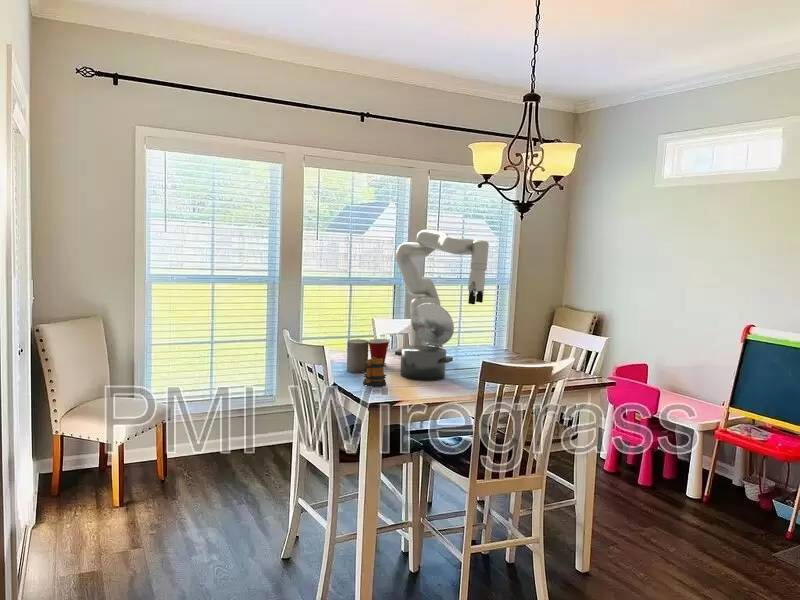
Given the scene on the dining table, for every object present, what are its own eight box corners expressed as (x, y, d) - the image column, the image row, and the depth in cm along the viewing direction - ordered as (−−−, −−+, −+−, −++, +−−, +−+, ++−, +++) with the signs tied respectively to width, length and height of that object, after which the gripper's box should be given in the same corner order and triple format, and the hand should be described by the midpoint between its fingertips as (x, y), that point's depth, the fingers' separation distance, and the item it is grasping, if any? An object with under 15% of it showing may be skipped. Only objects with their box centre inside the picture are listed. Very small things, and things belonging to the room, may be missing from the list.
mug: (369, 380, 268) (370, 353, 267) (390, 383, 264) (392, 356, 263) (354, 386, 256) (356, 358, 255) (377, 390, 252) (378, 362, 251)
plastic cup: (369, 361, 307) (370, 337, 306) (390, 363, 305) (392, 338, 304) (363, 365, 297) (364, 340, 295) (386, 367, 295) (387, 342, 293)
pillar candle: (370, 369, 288) (371, 337, 287) (363, 373, 279) (364, 340, 278) (351, 367, 291) (352, 335, 290) (342, 371, 282) (343, 338, 281)
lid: (408, 301, 285) (411, 299, 288) (414, 343, 294) (416, 340, 296) (450, 306, 275) (453, 303, 277) (454, 349, 284) (457, 346, 286)
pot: (386, 375, 279) (387, 348, 278) (407, 367, 296) (409, 342, 295) (438, 384, 266) (440, 356, 265) (458, 376, 284) (459, 350, 282)
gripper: (477, 265, 303) (474, 300, 305) (464, 266, 287) (461, 303, 289) (492, 267, 299) (489, 302, 301) (479, 268, 284) (476, 305, 286)
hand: (475, 303), depth 295 cm, fingers open, 9 cm apart
